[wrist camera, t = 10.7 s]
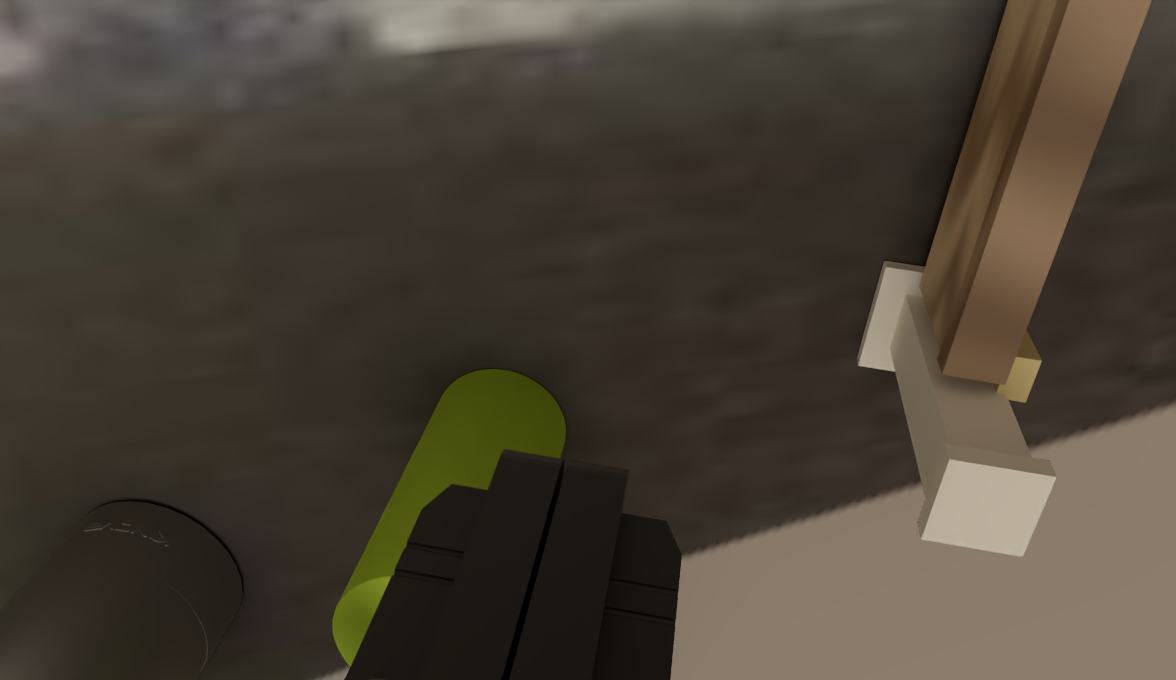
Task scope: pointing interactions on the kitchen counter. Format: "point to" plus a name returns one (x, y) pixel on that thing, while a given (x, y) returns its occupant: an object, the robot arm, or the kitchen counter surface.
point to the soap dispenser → (449, 475)
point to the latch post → (958, 426)
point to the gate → (1022, 174)
